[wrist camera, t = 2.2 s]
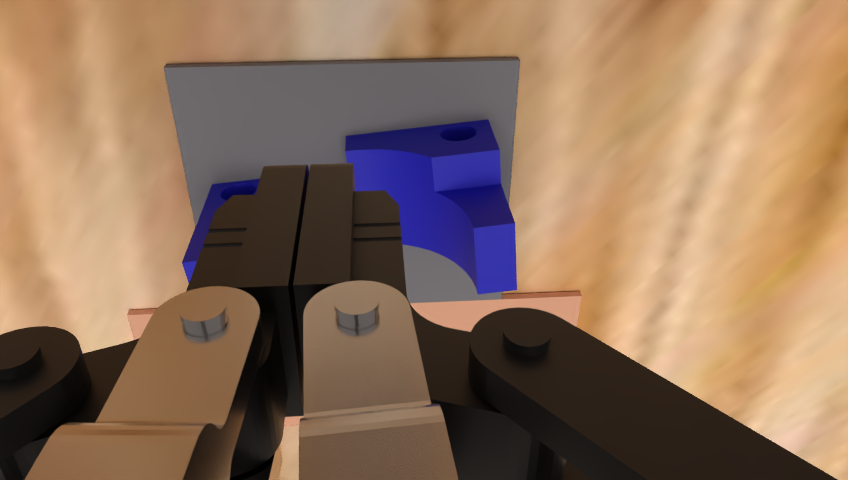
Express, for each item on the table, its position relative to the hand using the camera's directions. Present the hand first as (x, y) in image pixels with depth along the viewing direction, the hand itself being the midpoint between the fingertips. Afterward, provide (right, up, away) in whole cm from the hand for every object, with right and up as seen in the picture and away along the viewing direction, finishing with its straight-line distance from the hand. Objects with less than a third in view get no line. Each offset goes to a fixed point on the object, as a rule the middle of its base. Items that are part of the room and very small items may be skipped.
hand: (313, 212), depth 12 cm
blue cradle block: (-1, +2, +19) cm, 19 cm away
